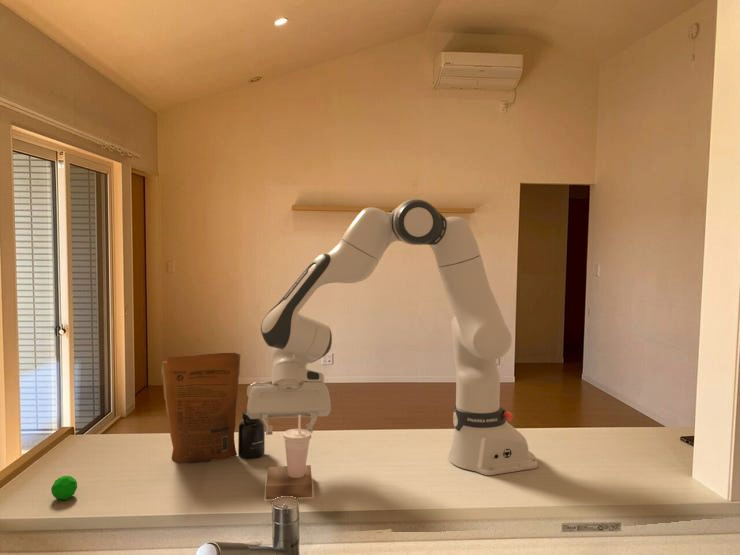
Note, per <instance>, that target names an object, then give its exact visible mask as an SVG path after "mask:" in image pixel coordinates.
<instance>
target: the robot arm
mask: <svg viewBox="0 0 740 555" xmlns="http://www.w3.org/2000/svg"><path fill="white" fill-rule="evenodd" d="M397 241H400V242H402V243H404V244H407V245H411V246H412V245H413V246H415V245H416V246H417V245H418V246H420V245H427V246H428V245H429V247H430V248H431V250H432V252H433V254H434V258H435V262H436V265H437V268H438V271H439V275H440V276H439V277H440V280H441V282H442V286H443V290H444V293H445V296H446V298H447V300H448V302H449V304H450V305H449V306H450V307H451V310H452V311H453V314H454V316H453V318H452V320H451V324H450V331H451V334H452V335H451V336H452V345H453V346H452V348H453V357H454V365H455V366H454V367H455V375H456V376H455V378H456V379H455V380H456V382H455V384H456V386H455V387H456V388H455V404H454V406H453V407H454V408H453V416H452V417H453V418H452V419H453V420H452V421H453V427H454V430H453V437H452V443H451V447H450V451H449V454H448V461H449V462H450V463H452V464H453V466H456V467H458V468H461V469H464V470H469V471H472V472H477V473H479V474H482V475H485V476H493V475H498V474H499V475H501V474H505V473H506V474H507V473H512V472H514V473H515V472H519V471H527V470H533V469H537V468H538V466H539V465H538V464H539V462H538V459H537V456H535V455H534V453H532V452H531V451H530V449H529V446H528V441H527V439H526V438H525V435H523V434H522V433H521V432H520V431H519V430H517V429H516V428H515V427H514V426H513V425H511V424H510V423H509V422H508V421H512V420H513V419H514V414H513V413H512V412H510V411H509V410H506V409H505V408H503V407H502V406H500V399H501V398H500V397H501V392H500V391H501V376H500V374H499V370H498V364H497V360H498V359H499V360H500V359H501V358H502V357H504V356H505V355H506V354H507V353H508V352H509V350H510V349H511V345H512V334H511V332H510V330H509V328H508V326H507V324H506V322H505V320H504V317H503V315H502V312H501V309H500V307H499V305H498V302H497V300H496V298H495V296H494V295H495V294H494V293H493V290H492V289H491V286H490V284H489V280H488V276H487V272H486V269H485V266H484V263H483V258H482V255H481V252H480V248H479V245H478V243H477V240H476V236H475V235H474V233H473V231H472V228H471V226H470V225H469V222H468V221H467V220H466V218H463V217H461V216H448V217H445V216H444V215H443V214H441V213H440V211H439V210H437V208H435V206H433V205H432V203H429V202H428V201H426V200H422V199H409V200H405V201H403V202H402V203H400V204H399V205H398V206H397V207H395V208H393V209H392V210H390V211H388V212H387V211H384V210H383V209H381V208H379V207H378V208H377V207H374V206H373V207H372V206H370V207H365V208H363V209H362V210H361V211H360V212H359V213H358V214H357V216H356V217H355V218H354V219H353V220H352V222H351V223H350V225H349V226H348V227H347V229H346V230H345V232H344V234H343V236H342V237H341V239H340V240H339V242H338V243H337V244H336V245H335V247H333V248H332V249H331V250H330V251H328V252H326V253H323V254H319V255H318V256H316V257H315V258H314V259H313V260H312V261H311V262H310V263H309V265H308V266H307V267H306V268H305V270H303V272H302V273H301V274H300V275H299V277H298V278H297V279H296V280H295V282H294V283H293V284H292V285H291V287H290V288H289V289H288V291H287V292H286V293H285V294H284V296H283V297H282V298H281V299H280V300H279V302H278V303H276V305H274V306H273V307H272V308H271V309H270V310H269V311H268V312H267V313H266V315H265V316H264V318H263V319H262V322H261V325H260V334H261V336H262V338H263V341H264V342H265V344H266V345H267V346H268V347H271V348H272V349H271V350H272V352H271V358H272V362H273V365H272V368H271V380H270V381H263V382H260V381H256V382H253V383H252V384H249V385H248V386H247V388H246V397H247V398H248V399H247V404H246V409H247V415H248V417H249V418H250V419H261V420H262V423H263V425H264V426H265V436H266V435H267V436H269V435H270V436H271V435H273V424H269V419H287V418H289V419H290V418H298V417H299V415H301V418H309V417H310V422H309V423H306V424H305V425H306V426H305V430H308V431H310V432H311V434H312V433H313V430H314V429H313V427H314V425H315V423H316V422H317V417H327V416H329V415H330V414H331V412H332V411H331V410H332V405H331V404H332V403H331V397H330V390H329V388H328V386H327V385H326V384H325V376H324V374H323V373H322V372H319V371H315V370H310V369H308V368H307V365H308V364H312V363H315V362H317V361H318V360H320V359H322V358H323V357H325V356H326V355H327V354H328V353H329V352H330V351H331V348H332V344H333V343H332V342H333V334H332V330H331V328H330V327H329V326H328V325H327V324H325V323H324V322H321V321H318V320H316V319H314V318H310V317H308V316H306V315H303V314H301V313H299V312H300V311H301V309H302V308H303V307H304V306H305V305H306V303H307V302H308V301H309V300H310V298H311V297H312V296H313V294H314V293H315V292H316V291H317V290H318V289H319V288H320V287H322V286H324V285H327V284H336V283H337V284H338V283H339V284H355V283H359V282H362V281H363V282H364V280H366V279H368V278H369V277H371V275H372V274H373V273H374V271H375V270H376V268H377V266H378V265H379V262H380V261H381V258H382V257H383V255H384V253H385V252H386V250H387V249H388V248H389V246H390V245H391V244H393V243H395V242H397Z"/></svg>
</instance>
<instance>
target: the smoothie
mask: <svg viewBox="0 0 740 555" xmlns="http://www.w3.org/2000/svg"><path fill="white" fill-rule="evenodd" d="M297 418H298V420H297V421H298V422H297V424H298V425H297V427H298V428H291V429H287V430H285V431H284V432H283V437H282V438H283V440H284V446H285V447H284V448H285V455H286V456H285V457H286V458H285V459H286V466H287V468H288V476H289V477H292V478H300V477H303V476H304V474H305V467H306V465H307V460H308V452H309V448H310V447H309V446H310V440H311V439H312V433H311V432H310V431H308V430H306V428H302V427H301V425H302V424H301V423H302V417H301V415H299V417H297Z"/></svg>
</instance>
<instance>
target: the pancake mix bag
mask: <svg viewBox="0 0 740 555" xmlns="http://www.w3.org/2000/svg"><path fill="white" fill-rule="evenodd" d="M240 368H241V354H240V353H236V352H217V353H207V354H206V353H205V354H204V353H203V354H198V355H186V356H183V355H182V356H170V357H167V358H166V361H163V360H162V361H161V377H162V383H163V384H162V385H163V398H164V401H165V409H166V415H167V416H166V417H167V420H168V427H169V434H170V439H171V445H172V454H171V460H173V461H175V462H176V463H182V464H187V463H200V462H204V463H205V462H211V461H213V460H215V461H216V460H226V459H230V458H232V457H236V456H237V455H238V452H237V450H236V444H235V442H236V441H235V429H236V419H237V418H236V416H237V412H236V411H237V410H236V409H237V404H238V399H239V398H238V396H239V383H240V382H239V380H240V374H241V371H240V370H241V369H240Z"/></svg>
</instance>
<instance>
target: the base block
mask: <svg viewBox="0 0 740 555" xmlns="http://www.w3.org/2000/svg"><path fill="white" fill-rule="evenodd" d="M266 472H267V473H266V474H267V476H266V479H267V481H266V480H265V484H266V499H275V498H277V497H281V496H293V497H296V498H301V497H312V477H311V476H312V465H310V464H306V467H305V474H304V476H303V477H300V478H292V477H289V476H288V468H287V465H285V466H284V465H283V466H268V467H267V471H266Z"/></svg>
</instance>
